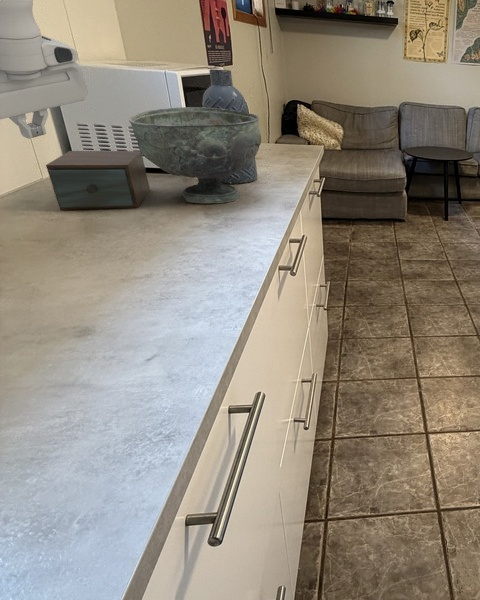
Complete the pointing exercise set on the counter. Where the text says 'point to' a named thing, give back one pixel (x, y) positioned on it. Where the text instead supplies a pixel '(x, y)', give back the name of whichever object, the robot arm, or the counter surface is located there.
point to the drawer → (91, 187)
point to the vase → (230, 99)
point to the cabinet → (107, 161)
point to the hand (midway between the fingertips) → (34, 135)
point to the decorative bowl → (199, 146)
